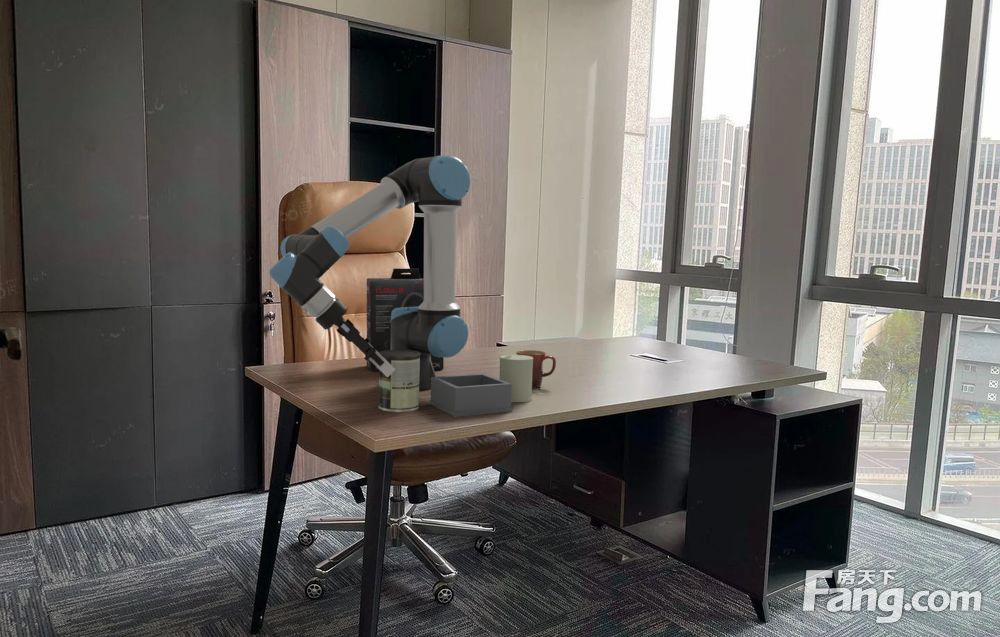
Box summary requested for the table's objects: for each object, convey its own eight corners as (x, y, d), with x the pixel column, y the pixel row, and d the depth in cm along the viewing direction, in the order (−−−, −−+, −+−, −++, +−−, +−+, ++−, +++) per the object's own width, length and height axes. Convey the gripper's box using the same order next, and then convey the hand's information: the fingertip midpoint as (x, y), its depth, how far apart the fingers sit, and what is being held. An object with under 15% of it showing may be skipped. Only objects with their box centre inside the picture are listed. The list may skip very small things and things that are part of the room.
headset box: (368, 372, 234) (369, 268, 230) (364, 365, 245) (365, 266, 242) (444, 370, 240) (446, 269, 237) (436, 364, 252) (438, 268, 249)
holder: (429, 403, 190) (429, 376, 190) (483, 398, 198) (484, 373, 197) (454, 416, 176) (455, 388, 176) (512, 411, 184) (513, 384, 183)
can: (492, 397, 201) (493, 353, 200) (520, 394, 205) (522, 352, 204) (509, 403, 193) (510, 358, 192) (538, 401, 197) (540, 357, 196)
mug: (511, 387, 214) (512, 353, 213) (519, 382, 223) (520, 349, 222) (551, 391, 211) (553, 356, 210) (557, 385, 220) (559, 352, 219)
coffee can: (371, 410, 181) (371, 353, 180) (389, 402, 191) (389, 348, 189) (409, 414, 178) (410, 356, 177) (425, 405, 188) (426, 351, 186)
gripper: (310, 314, 187) (369, 370, 193) (317, 324, 163) (383, 389, 170) (332, 293, 188) (389, 350, 194) (341, 301, 165) (406, 365, 171)
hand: (386, 368), depth 182 cm, fingers open, 13 cm apart
